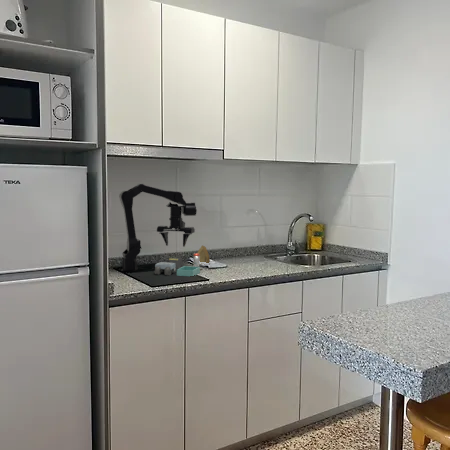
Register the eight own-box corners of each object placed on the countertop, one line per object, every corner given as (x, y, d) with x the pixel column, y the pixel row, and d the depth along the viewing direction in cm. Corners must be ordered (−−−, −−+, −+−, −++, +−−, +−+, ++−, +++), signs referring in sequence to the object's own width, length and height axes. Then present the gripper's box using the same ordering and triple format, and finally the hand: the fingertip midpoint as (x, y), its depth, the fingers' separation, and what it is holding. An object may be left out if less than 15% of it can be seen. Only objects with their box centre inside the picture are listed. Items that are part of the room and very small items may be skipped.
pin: (192, 269, 228) (192, 254, 227) (194, 268, 230) (194, 253, 230) (198, 270, 227) (198, 254, 226) (200, 269, 230) (200, 253, 229)
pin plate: (188, 270, 226) (188, 270, 226) (192, 268, 232) (192, 268, 232) (200, 271, 225) (200, 270, 225) (203, 269, 231) (203, 268, 231)
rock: (215, 261, 243) (212, 255, 252) (206, 249, 240) (203, 244, 250) (198, 273, 243) (196, 267, 252) (189, 261, 240) (187, 255, 249)
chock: (168, 269, 230) (168, 258, 230) (174, 266, 238) (174, 256, 238) (177, 270, 229) (177, 259, 229) (182, 267, 237) (182, 257, 236)
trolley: (153, 275, 214) (153, 264, 214) (161, 271, 224) (161, 260, 223) (169, 276, 212) (169, 265, 212) (177, 272, 222) (177, 261, 221)
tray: (176, 276, 213) (176, 269, 213) (184, 272, 223) (184, 266, 223) (193, 277, 211) (193, 270, 211) (199, 273, 221) (200, 267, 221)
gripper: (198, 215, 236) (197, 245, 238) (164, 214, 241) (164, 243, 243) (191, 217, 226) (190, 248, 227) (156, 215, 230) (156, 246, 232)
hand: (175, 246), depth 232 cm, fingers open, 9 cm apart
